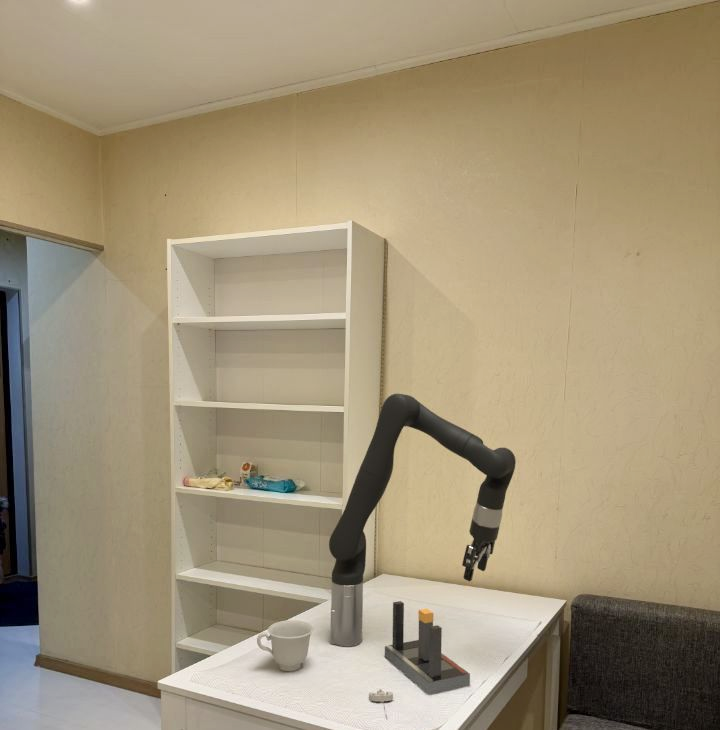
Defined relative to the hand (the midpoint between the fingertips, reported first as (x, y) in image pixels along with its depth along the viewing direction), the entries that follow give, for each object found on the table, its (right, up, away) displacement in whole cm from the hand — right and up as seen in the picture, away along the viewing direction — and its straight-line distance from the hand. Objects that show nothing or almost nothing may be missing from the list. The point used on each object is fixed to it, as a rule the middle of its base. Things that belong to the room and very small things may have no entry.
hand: (474, 574), depth 172 cm
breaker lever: (-14, -19, -7) cm, 25 cm away
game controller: (-26, -23, -26) cm, 43 cm away
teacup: (-51, -23, -6) cm, 56 cm away
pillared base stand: (-14, -23, -7) cm, 28 cm away
